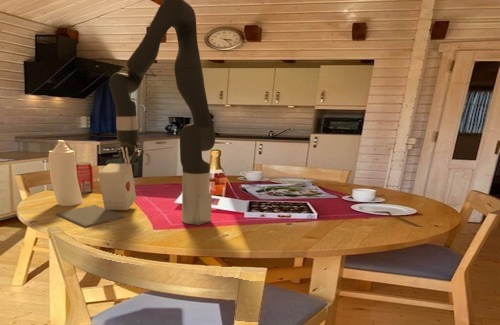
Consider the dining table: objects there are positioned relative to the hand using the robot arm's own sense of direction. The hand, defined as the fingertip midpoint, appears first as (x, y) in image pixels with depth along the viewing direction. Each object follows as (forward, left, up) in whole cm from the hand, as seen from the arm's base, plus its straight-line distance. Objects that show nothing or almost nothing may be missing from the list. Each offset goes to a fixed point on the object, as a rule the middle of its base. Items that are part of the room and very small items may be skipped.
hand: (131, 173), depth 122 cm
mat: (0, +16, -13) cm, 21 cm away
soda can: (+36, 0, -13) cm, 38 cm away
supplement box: (0, +4, -11) cm, 12 cm away
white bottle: (+21, +14, -13) cm, 28 cm away
